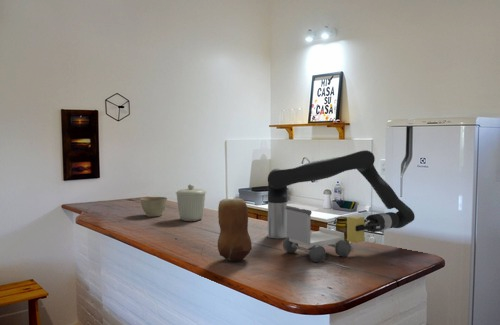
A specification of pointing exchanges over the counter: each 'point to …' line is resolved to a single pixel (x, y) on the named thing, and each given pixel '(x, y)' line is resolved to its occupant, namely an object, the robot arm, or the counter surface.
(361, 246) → the counter surface
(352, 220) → the yellow rectangular block
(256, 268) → the counter surface
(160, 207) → the planter bowl
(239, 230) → the butternut squash
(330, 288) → the counter surface
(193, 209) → the canister
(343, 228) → the condiment
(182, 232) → the counter surface
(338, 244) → the trolley
